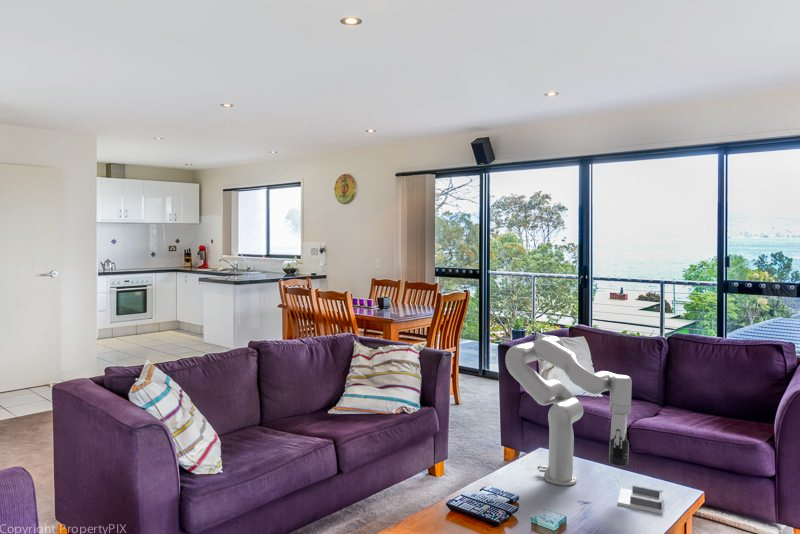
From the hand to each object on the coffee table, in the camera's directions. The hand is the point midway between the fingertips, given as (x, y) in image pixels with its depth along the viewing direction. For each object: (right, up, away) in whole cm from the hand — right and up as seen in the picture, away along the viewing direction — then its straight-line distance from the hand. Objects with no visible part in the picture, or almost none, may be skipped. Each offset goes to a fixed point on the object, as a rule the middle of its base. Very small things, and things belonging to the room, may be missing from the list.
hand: (618, 454), depth 218 cm
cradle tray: (+7, -17, -3) cm, 18 cm away
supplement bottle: (0, -3, 0) cm, 3 cm away
